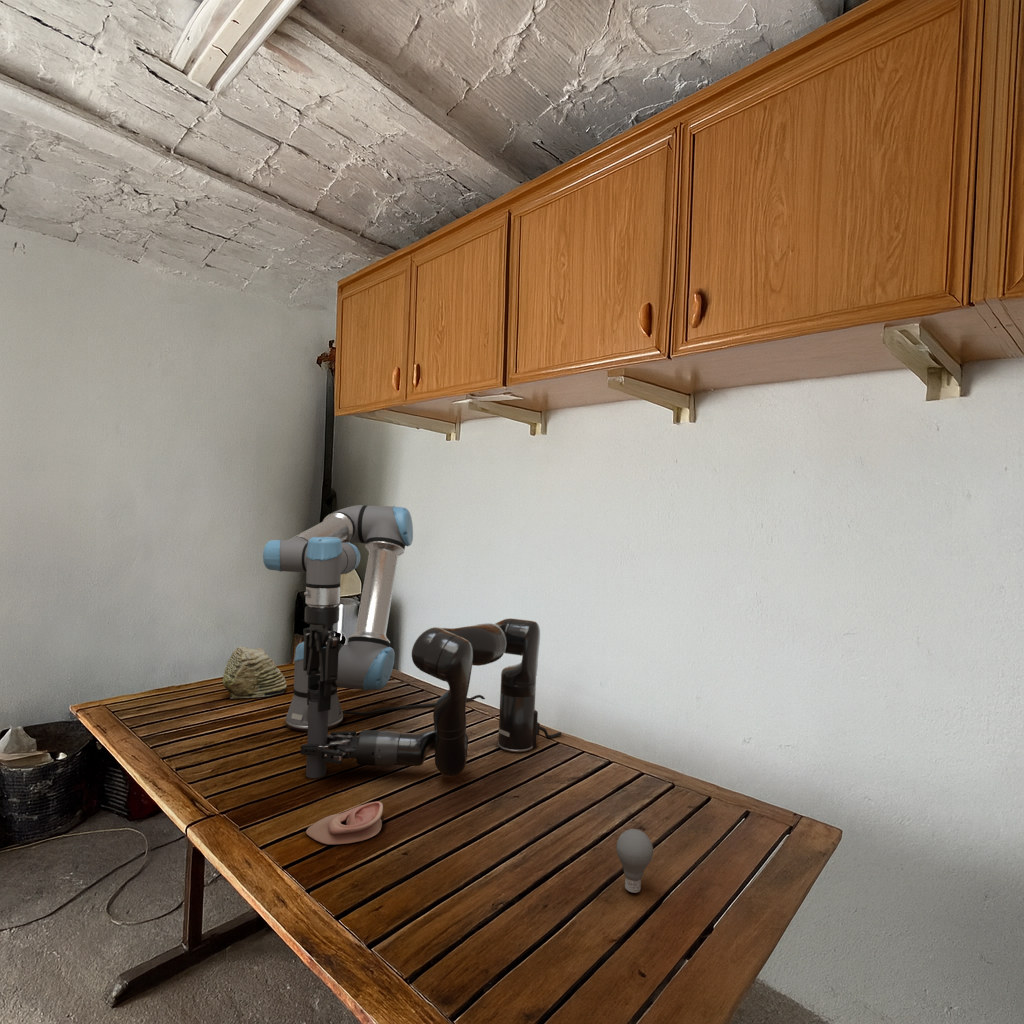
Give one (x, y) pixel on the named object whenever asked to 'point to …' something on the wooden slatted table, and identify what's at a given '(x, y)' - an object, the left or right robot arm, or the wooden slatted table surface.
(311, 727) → the bottle
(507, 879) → the wooden slatted table surface
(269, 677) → the fossil
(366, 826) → the anatomical model
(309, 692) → the lid
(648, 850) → the light bulb
